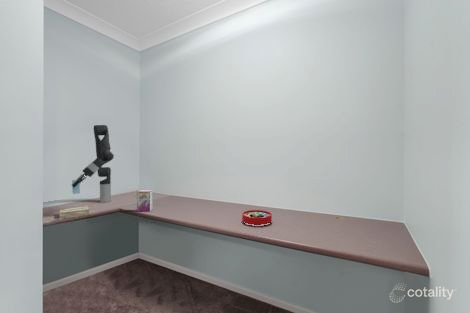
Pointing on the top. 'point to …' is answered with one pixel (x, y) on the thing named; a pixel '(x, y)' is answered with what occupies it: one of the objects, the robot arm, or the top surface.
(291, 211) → the top surface
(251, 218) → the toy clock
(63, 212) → the birch plinth
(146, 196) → the candy bar box
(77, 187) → the teal block
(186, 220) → the top surface
